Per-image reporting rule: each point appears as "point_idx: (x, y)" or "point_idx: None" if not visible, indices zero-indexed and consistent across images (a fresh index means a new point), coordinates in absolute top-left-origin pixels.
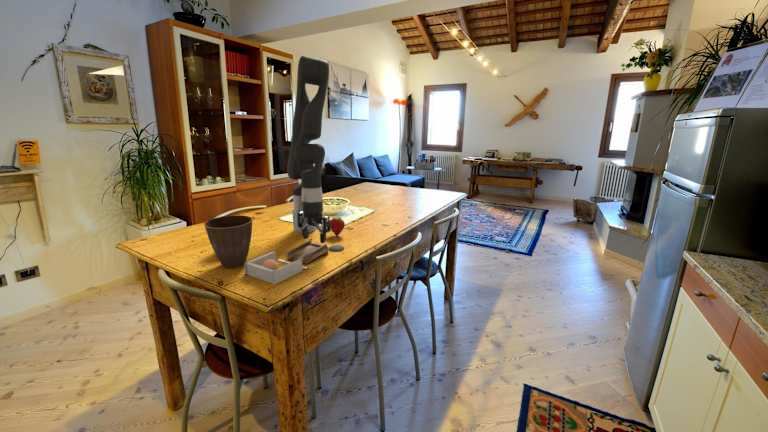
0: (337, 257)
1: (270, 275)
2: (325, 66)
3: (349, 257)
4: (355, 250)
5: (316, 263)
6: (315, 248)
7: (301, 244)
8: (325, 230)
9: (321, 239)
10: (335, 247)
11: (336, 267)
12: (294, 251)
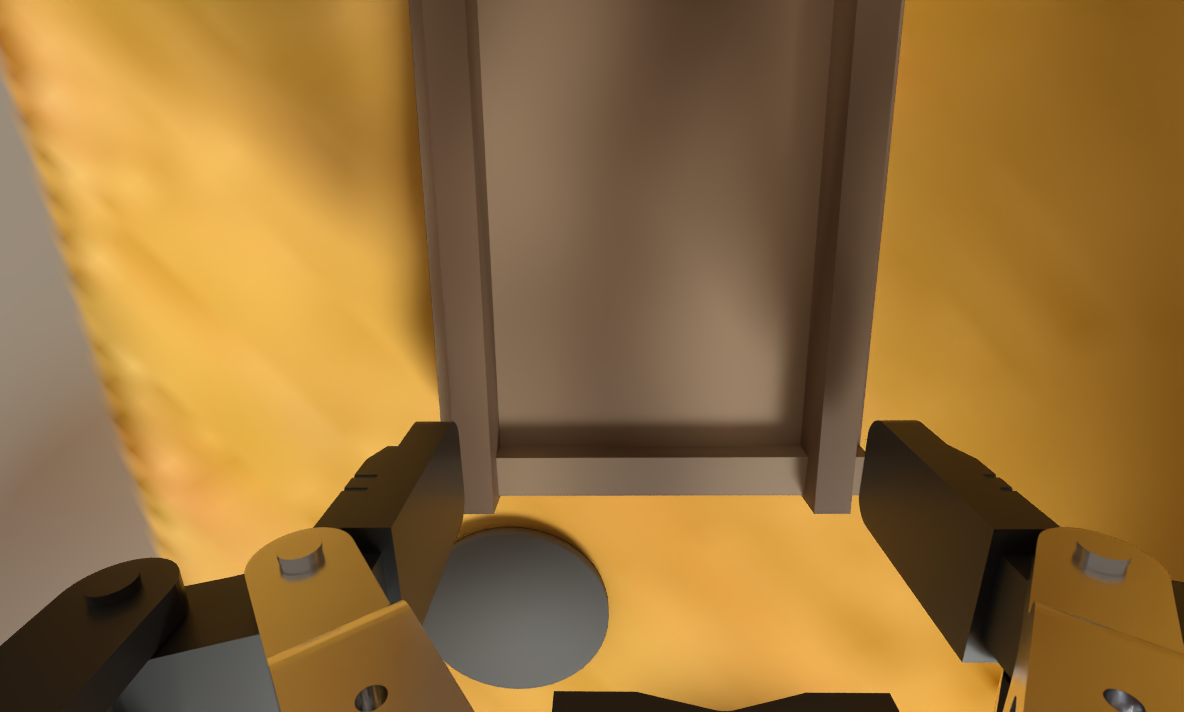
0: (298, 414)
1: None
2: None
3: (187, 486)
4: None
5: (358, 101)
6: (600, 373)
7: (865, 312)
8: (53, 628)
9: (393, 454)
10: (530, 618)
11: (40, 152)
12: (834, 82)
